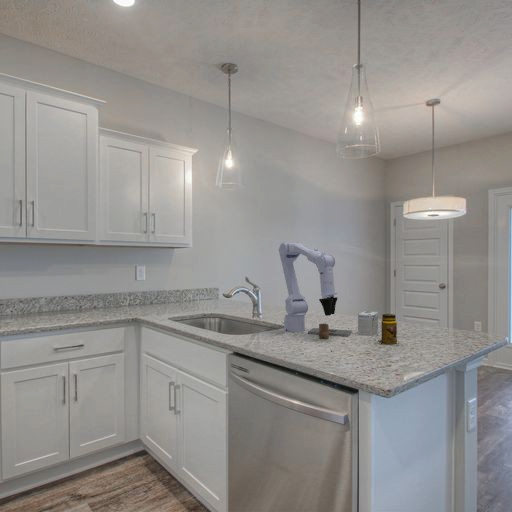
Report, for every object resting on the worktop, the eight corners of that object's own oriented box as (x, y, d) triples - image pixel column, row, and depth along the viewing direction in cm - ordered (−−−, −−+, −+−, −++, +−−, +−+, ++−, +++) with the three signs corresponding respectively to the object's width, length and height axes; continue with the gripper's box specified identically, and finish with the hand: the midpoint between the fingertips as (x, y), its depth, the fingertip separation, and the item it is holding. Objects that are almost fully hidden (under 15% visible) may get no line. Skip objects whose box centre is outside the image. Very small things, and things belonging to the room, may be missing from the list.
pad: (310, 342, 158) (310, 339, 159) (314, 339, 165) (314, 336, 165) (333, 344, 154) (333, 341, 154) (337, 341, 161) (337, 337, 161)
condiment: (396, 345, 152) (395, 316, 152) (374, 343, 156) (374, 314, 156) (399, 342, 158) (398, 313, 158) (378, 340, 162) (378, 312, 162)
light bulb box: (363, 333, 177) (363, 310, 177) (378, 335, 174) (378, 311, 174) (357, 337, 168) (357, 313, 168) (372, 339, 164) (372, 314, 164)
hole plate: (307, 337, 170) (307, 331, 170) (313, 333, 179) (313, 327, 179) (348, 340, 162) (348, 334, 163) (351, 335, 172) (351, 330, 172)
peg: (318, 339, 159) (317, 324, 159) (320, 337, 162) (320, 323, 162) (327, 339, 157) (327, 325, 157) (329, 337, 161) (329, 323, 161)
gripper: (332, 282, 152) (335, 315, 151) (339, 282, 166) (342, 313, 164) (316, 283, 155) (318, 316, 154) (324, 283, 168) (326, 313, 167)
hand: (330, 314), depth 159 cm, fingers open, 7 cm apart
